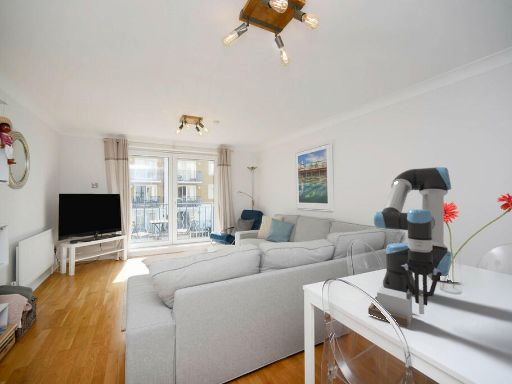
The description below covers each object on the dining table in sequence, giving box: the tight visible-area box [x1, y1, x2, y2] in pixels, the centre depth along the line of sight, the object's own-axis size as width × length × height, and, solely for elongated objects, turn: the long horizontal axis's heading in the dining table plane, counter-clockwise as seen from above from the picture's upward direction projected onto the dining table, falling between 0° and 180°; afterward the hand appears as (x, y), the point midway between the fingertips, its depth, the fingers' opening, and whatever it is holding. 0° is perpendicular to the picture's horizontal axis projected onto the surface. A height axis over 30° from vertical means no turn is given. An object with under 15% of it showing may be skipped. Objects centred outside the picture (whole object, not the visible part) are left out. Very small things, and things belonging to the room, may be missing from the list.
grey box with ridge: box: [376, 286, 413, 325], centre depth 91 cm, size 7×11×11 cm, turn 49°
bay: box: [367, 296, 408, 328], centre depth 92 cm, size 14×13×3 cm
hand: (421, 312), depth 86 cm, fingers closed
